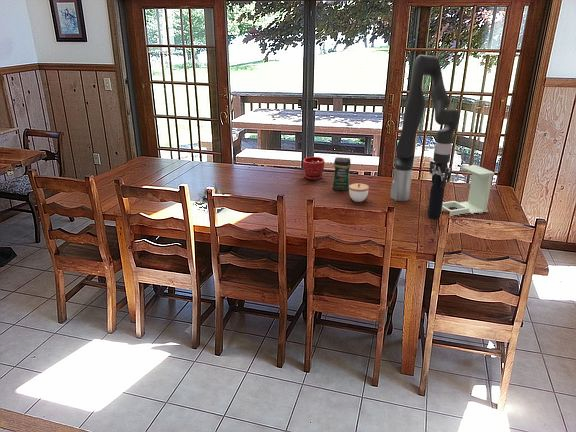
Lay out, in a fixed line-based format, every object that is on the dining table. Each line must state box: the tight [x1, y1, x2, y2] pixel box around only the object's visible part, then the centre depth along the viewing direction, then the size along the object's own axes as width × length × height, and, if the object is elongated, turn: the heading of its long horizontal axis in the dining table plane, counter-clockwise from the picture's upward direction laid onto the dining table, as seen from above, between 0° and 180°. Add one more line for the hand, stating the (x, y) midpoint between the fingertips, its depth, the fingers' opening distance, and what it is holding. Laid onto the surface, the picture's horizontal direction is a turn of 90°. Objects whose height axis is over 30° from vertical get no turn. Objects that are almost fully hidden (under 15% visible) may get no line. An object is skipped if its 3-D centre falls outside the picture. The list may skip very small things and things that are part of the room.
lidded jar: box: [348, 182, 370, 203], centre depth 247 cm, size 11×11×9 cm
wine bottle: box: [426, 163, 445, 220], centre depth 220 cm, size 6×6×30 cm
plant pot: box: [302, 156, 325, 181], centre depth 282 cm, size 13×13×12 cm
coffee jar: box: [332, 156, 352, 191], centre depth 262 cm, size 10×8×19 cm
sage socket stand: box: [441, 164, 495, 217], centre depth 230 cm, size 22×14×21 cm, turn 109°
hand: (438, 185), depth 220 cm, fingers open, 6 cm apart
